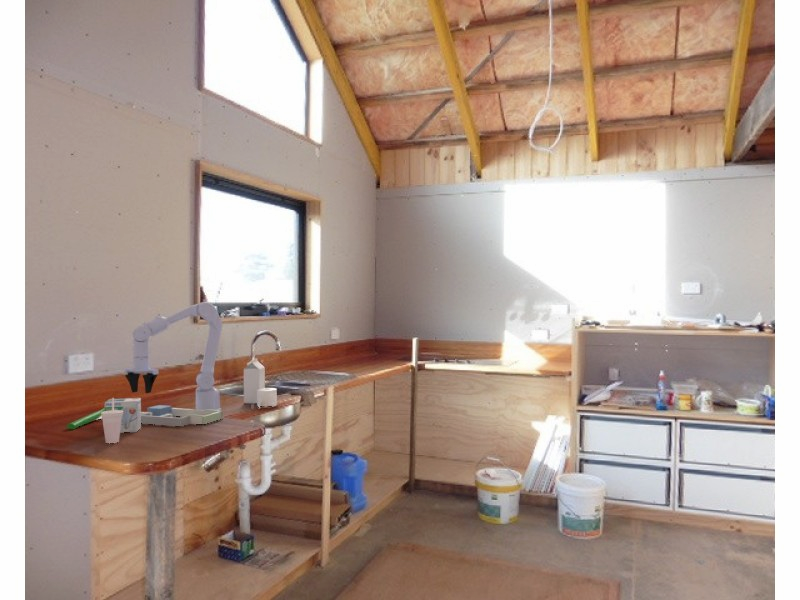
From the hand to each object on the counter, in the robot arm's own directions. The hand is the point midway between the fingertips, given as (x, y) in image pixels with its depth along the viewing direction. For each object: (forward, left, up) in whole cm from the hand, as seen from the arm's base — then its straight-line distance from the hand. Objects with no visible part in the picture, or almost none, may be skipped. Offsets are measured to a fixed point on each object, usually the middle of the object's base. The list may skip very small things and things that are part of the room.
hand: (141, 392), depth 224 cm
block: (0, +9, -10) cm, 13 cm away
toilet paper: (-34, +34, -10) cm, 48 cm away
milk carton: (-40, +25, -10) cm, 48 cm away
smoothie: (+36, +21, -10) cm, 42 cm away
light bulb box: (+22, +12, -10) cm, 26 cm away
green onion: (+11, -12, -10) cm, 19 cm away
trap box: (+3, +18, -9) cm, 20 cm away
